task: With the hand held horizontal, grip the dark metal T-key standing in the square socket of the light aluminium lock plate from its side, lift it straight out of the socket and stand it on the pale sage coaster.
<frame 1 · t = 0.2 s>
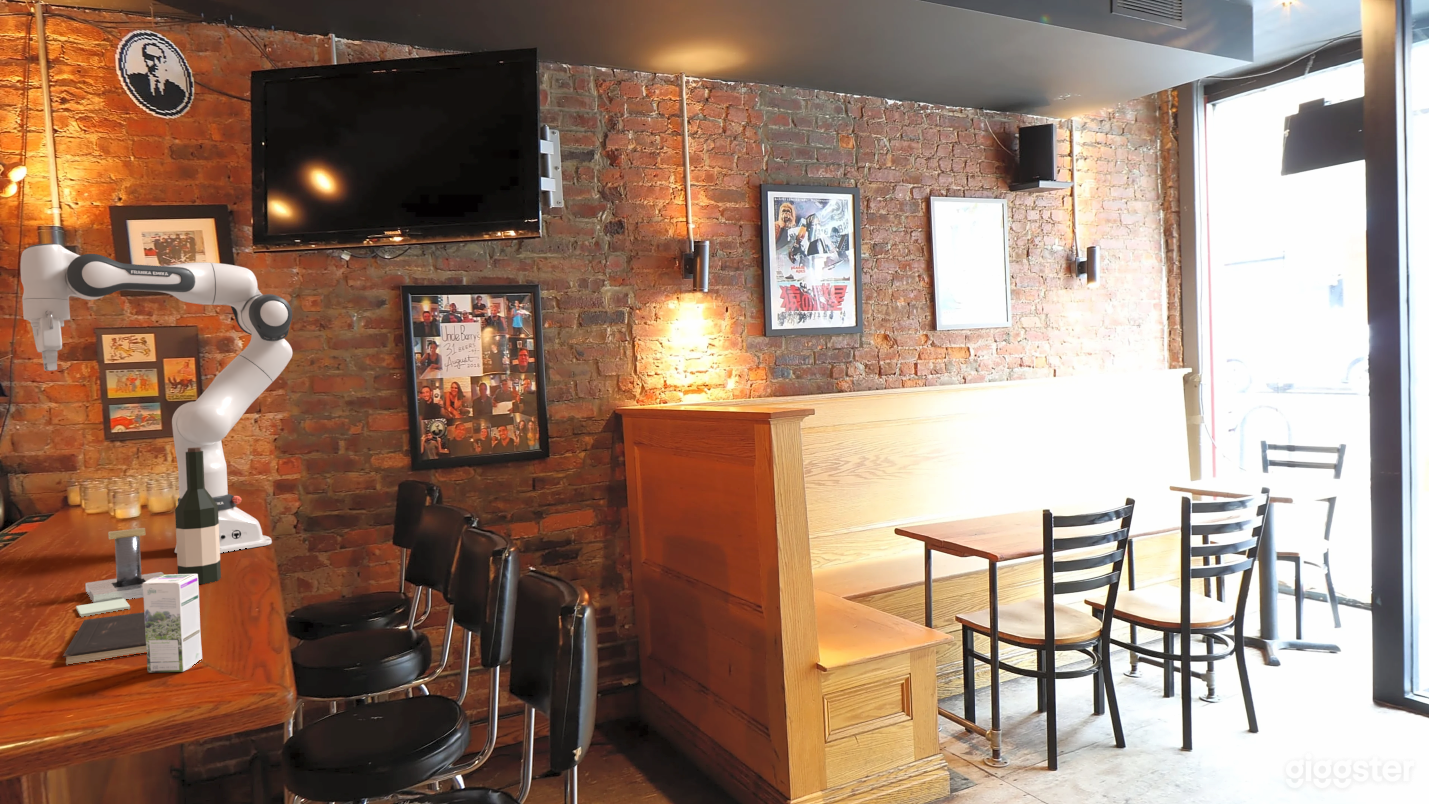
hand: (50, 370, 208), 48 cm above the bar counter, tool pointing down, fingers open, 8 cm apart
coaster: (103, 609, 174), on the bar counter
wine bottle: (200, 581, 195), on the bar counter
t key: (128, 561, 186), in the lock plate
syrup box: (175, 668, 139), on the bar counter
hardcover book: (130, 642, 154), on the bar counter
lock plate: (129, 592, 187), on the bar counter
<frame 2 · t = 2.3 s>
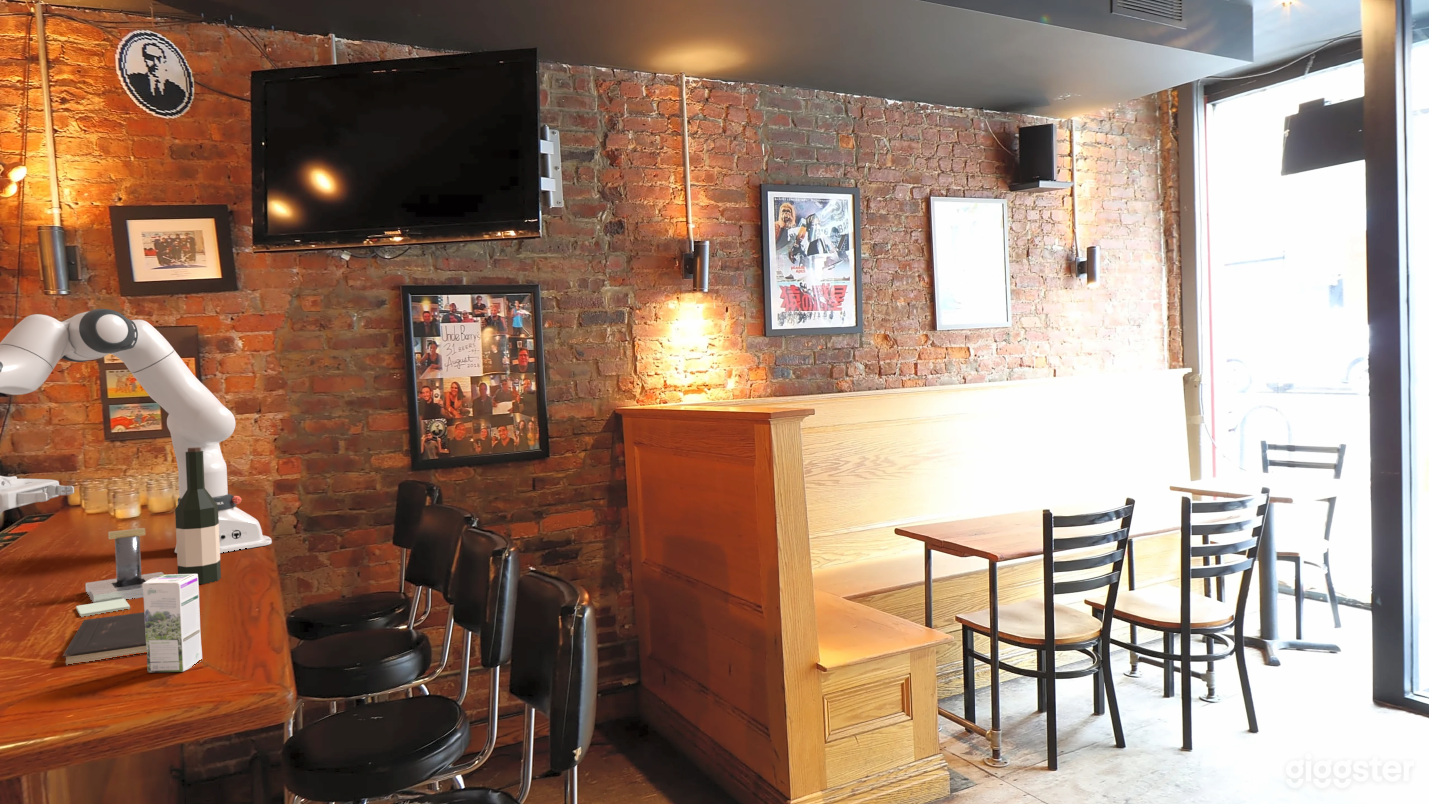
hand: (60, 493, 183), 22 cm above the bar counter, tool horizontal, fingers open, 8 cm apart
nothing on the bar counter moved.
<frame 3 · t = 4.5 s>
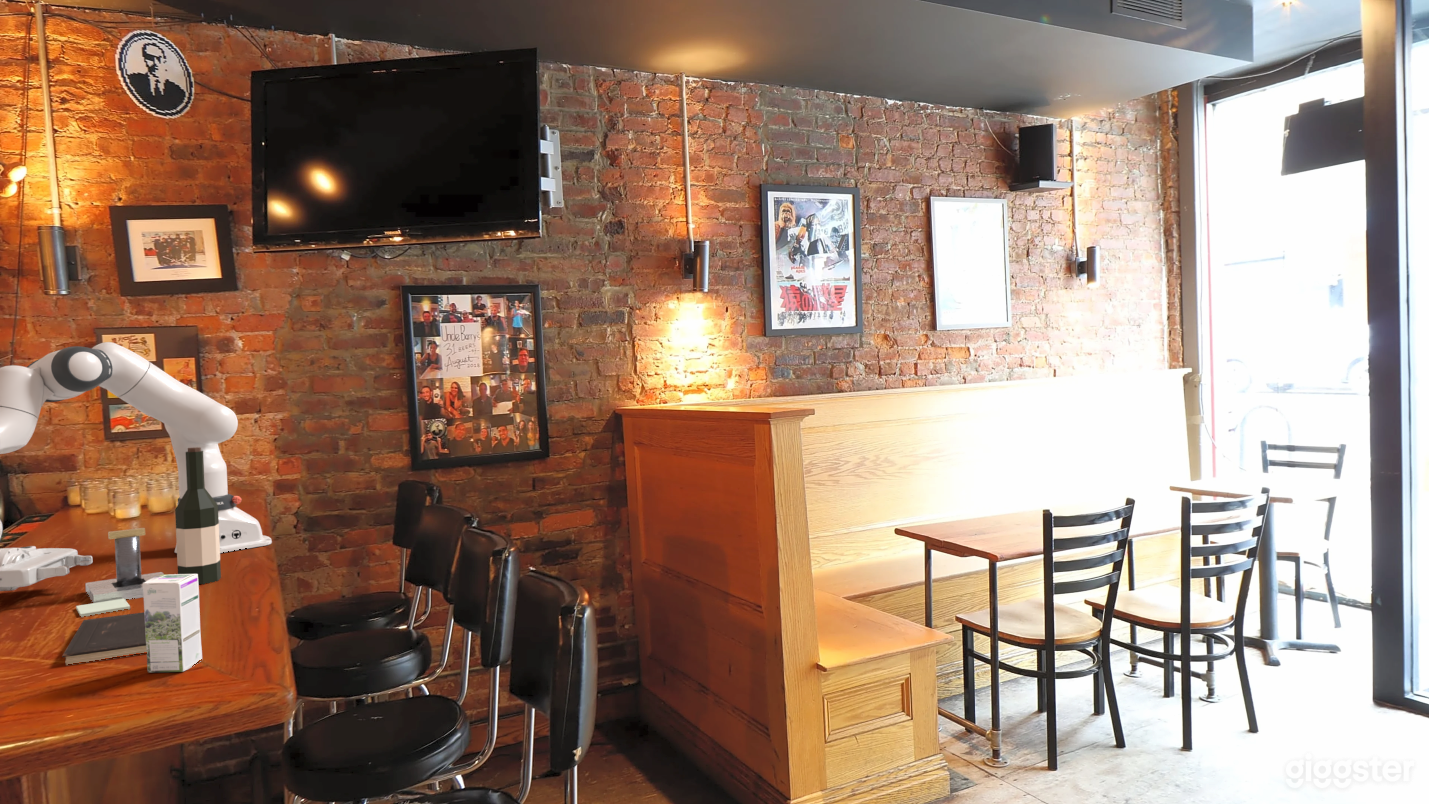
hand: (79, 565, 185), 6 cm above the bar counter, tool horizontal, fingers open, 8 cm apart
nothing on the bar counter moved.
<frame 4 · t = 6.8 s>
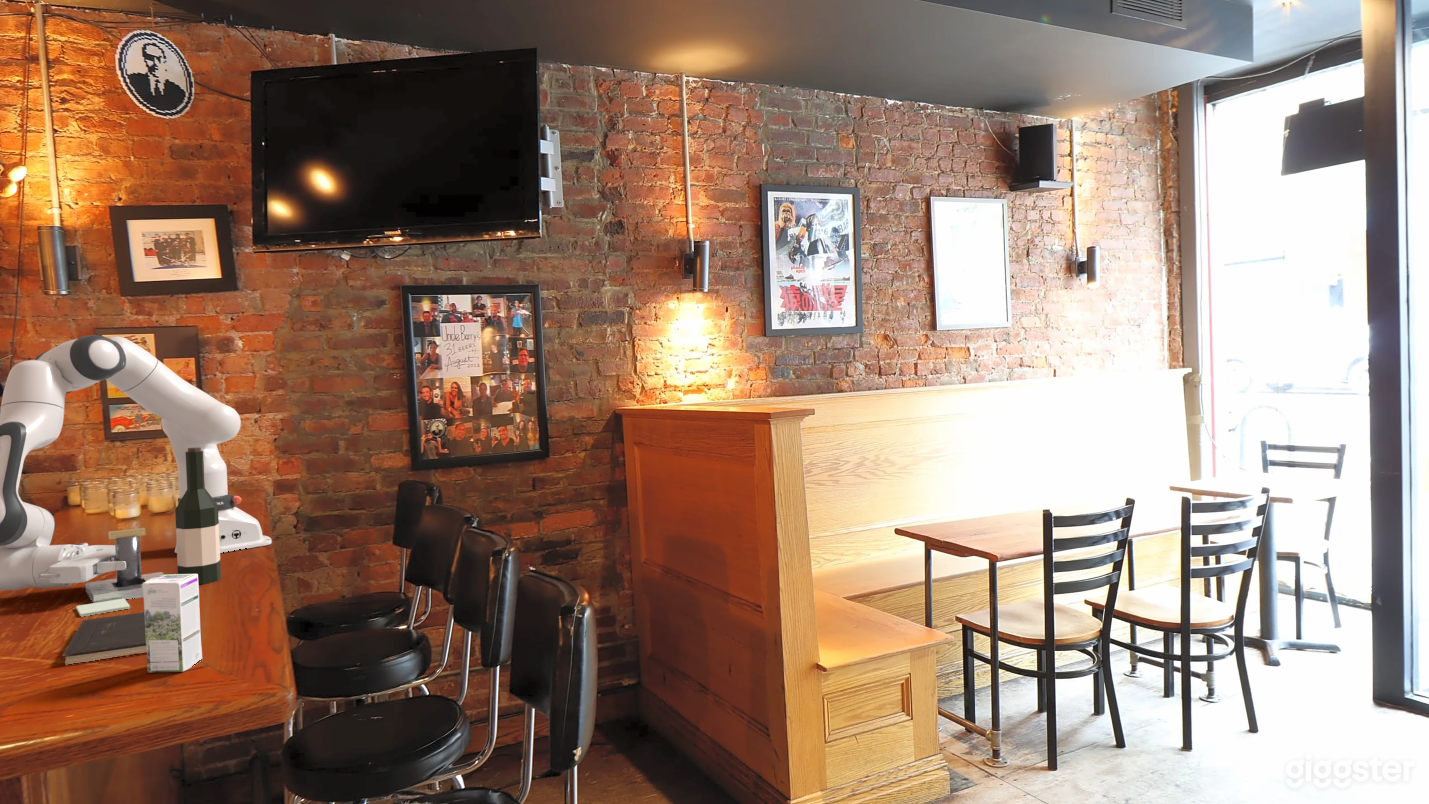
hand: (133, 561, 186), 7 cm above the bar counter, tool horizontal, fingers closed on t key, 4 cm apart
t key: (128, 561, 186), in the lock plate, touching gripper
everything else where it was.
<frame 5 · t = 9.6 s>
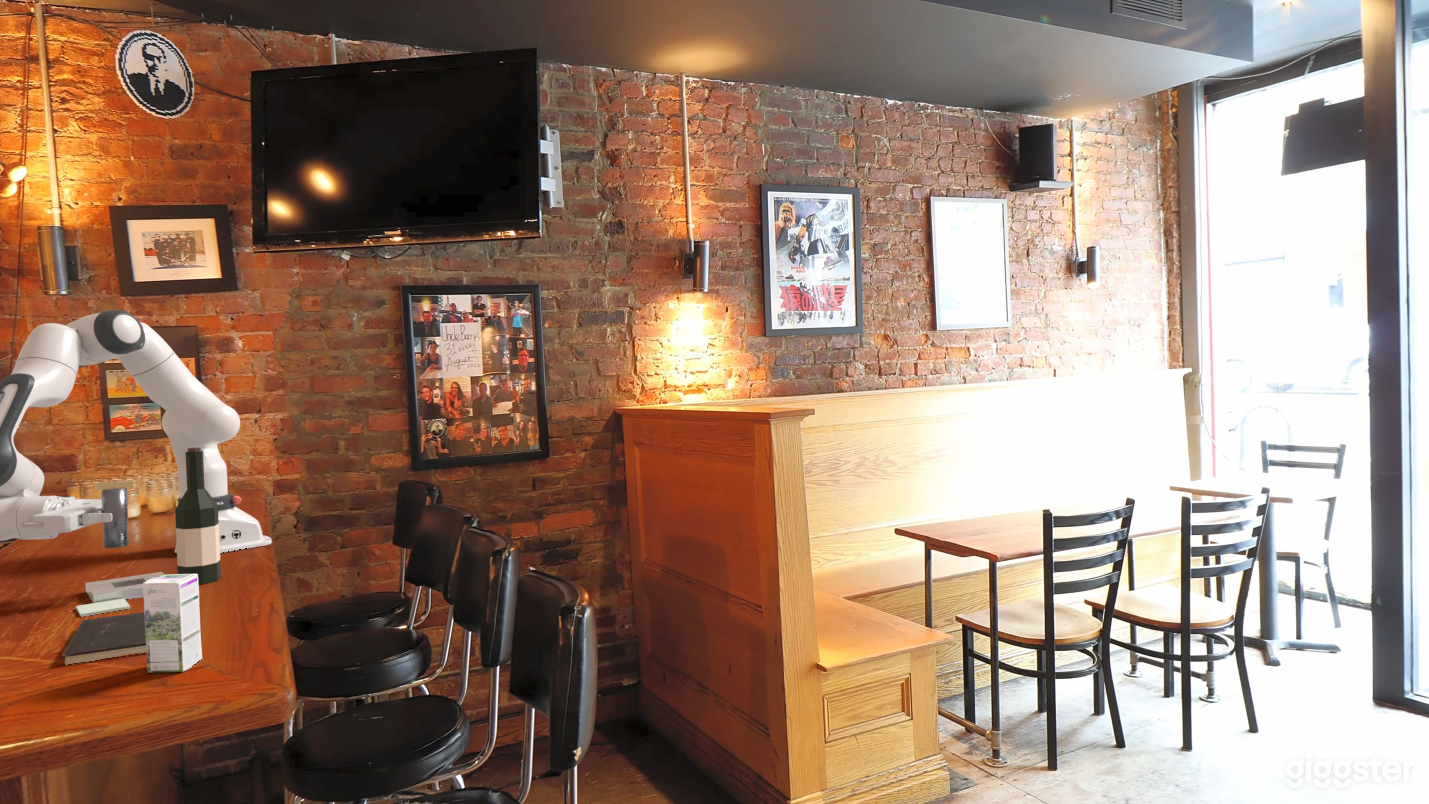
hand: (119, 514, 182), 17 cm above the bar counter, tool horizontal, fingers closed on t key, 4 cm apart
t key: (115, 514, 182), point 18 cm above the bar counter, touching gripper
everything else where it was.
when the fingers open (8 cm above the bar counter, at t = 12.3 s): t key stays where it is, resting on coaster.
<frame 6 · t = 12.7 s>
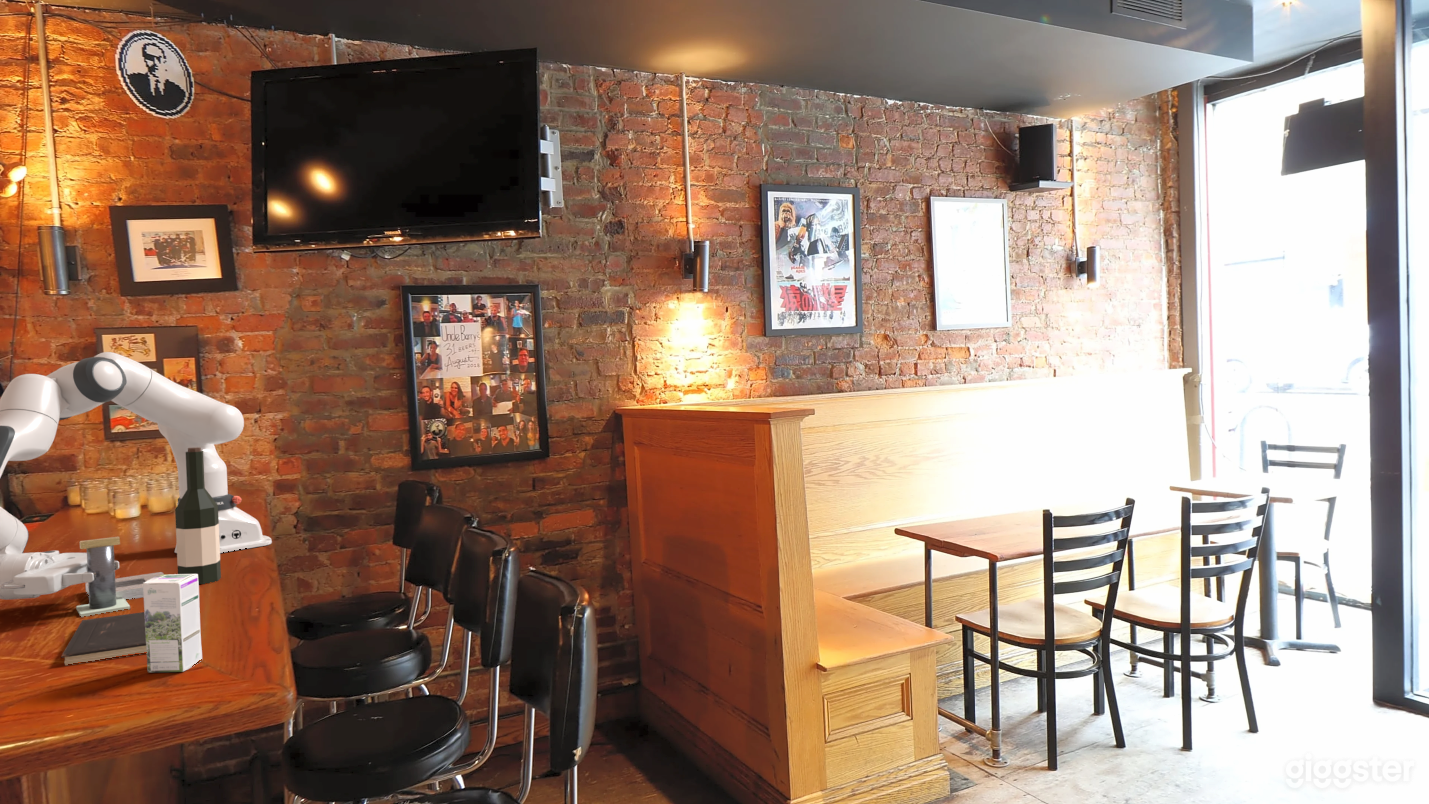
hand: (106, 571, 173), 8 cm above the bar counter, tool horizontal, fingers open, 8 cm apart
t key: (101, 572, 173), on the coaster, point 7 cm above the bar counter
everything else where it was.
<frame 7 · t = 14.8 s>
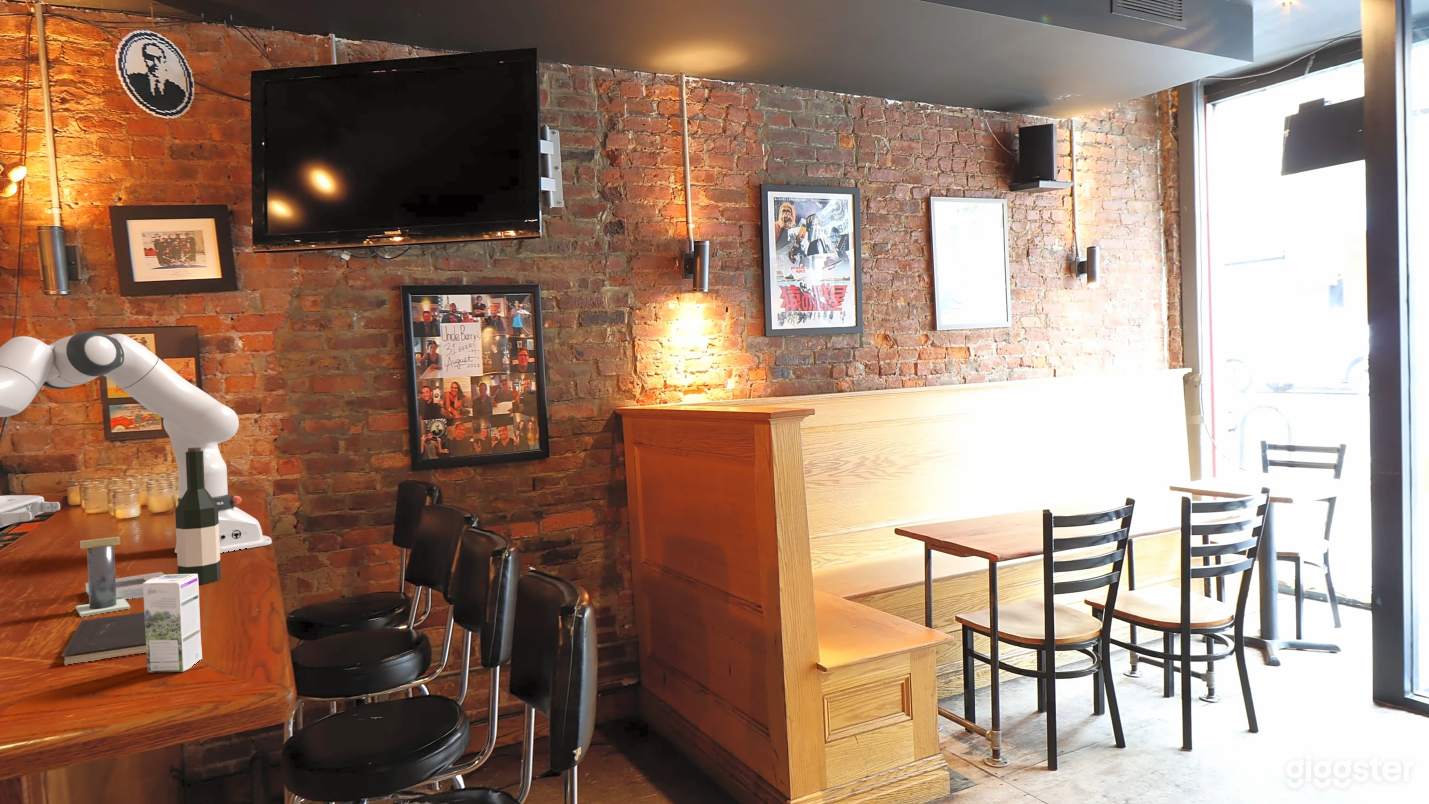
hand: (45, 511, 174), 20 cm above the bar counter, tool horizontal, fingers open, 8 cm apart
nothing on the bar counter moved.
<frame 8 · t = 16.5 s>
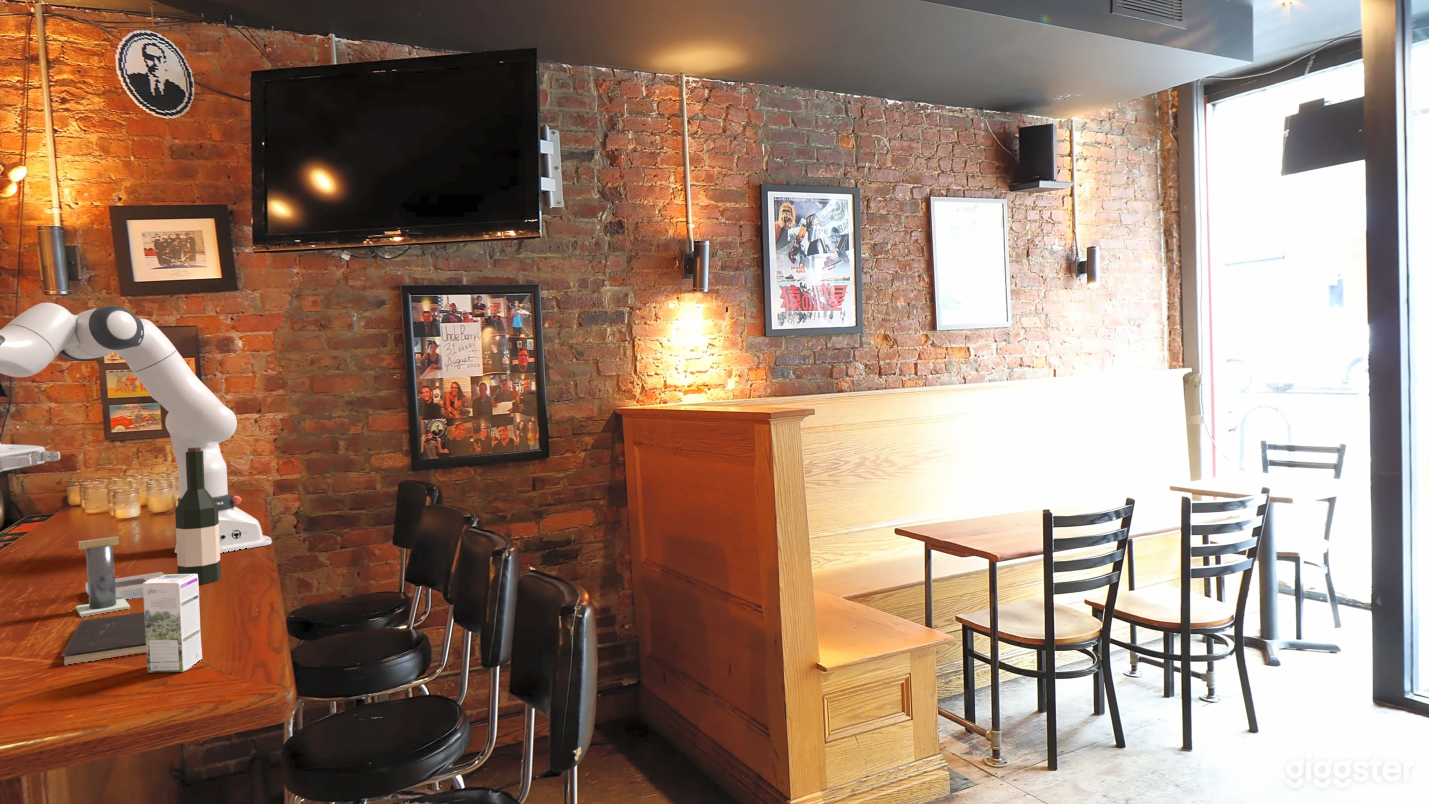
hand: (45, 458, 175), 30 cm above the bar counter, tool horizontal, fingers open, 8 cm apart
nothing on the bar counter moved.
at the end: t key inside the target area on the coaster (0.0 cm from its centre), point 7.3 cm above the coaster's base; t key tilted 1°; the gripper is holding nothing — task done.
